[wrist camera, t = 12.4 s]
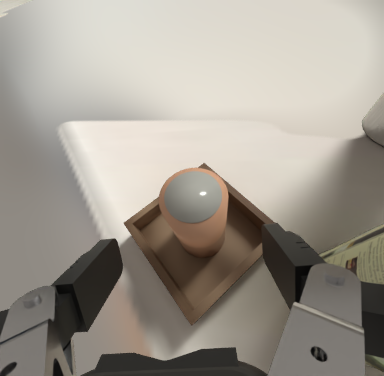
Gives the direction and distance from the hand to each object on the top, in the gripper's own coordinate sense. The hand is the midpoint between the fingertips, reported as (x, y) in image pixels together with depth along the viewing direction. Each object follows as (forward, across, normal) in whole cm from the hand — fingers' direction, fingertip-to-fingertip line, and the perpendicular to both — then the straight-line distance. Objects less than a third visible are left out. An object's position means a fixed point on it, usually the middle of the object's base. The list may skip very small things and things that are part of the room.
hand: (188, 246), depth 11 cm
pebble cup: (+12, 0, +6) cm, 14 cm away
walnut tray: (+13, 0, +6) cm, 15 cm away
